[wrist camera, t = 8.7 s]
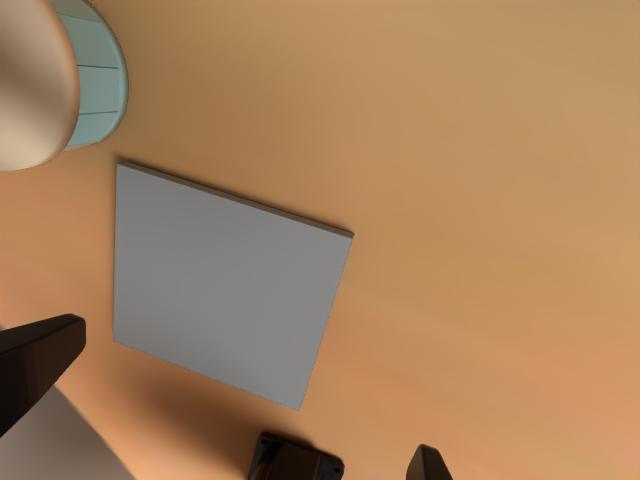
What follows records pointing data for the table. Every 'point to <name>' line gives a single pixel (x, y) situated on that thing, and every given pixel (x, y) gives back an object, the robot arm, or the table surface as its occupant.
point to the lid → (35, 84)
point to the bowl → (94, 72)
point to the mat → (222, 283)
